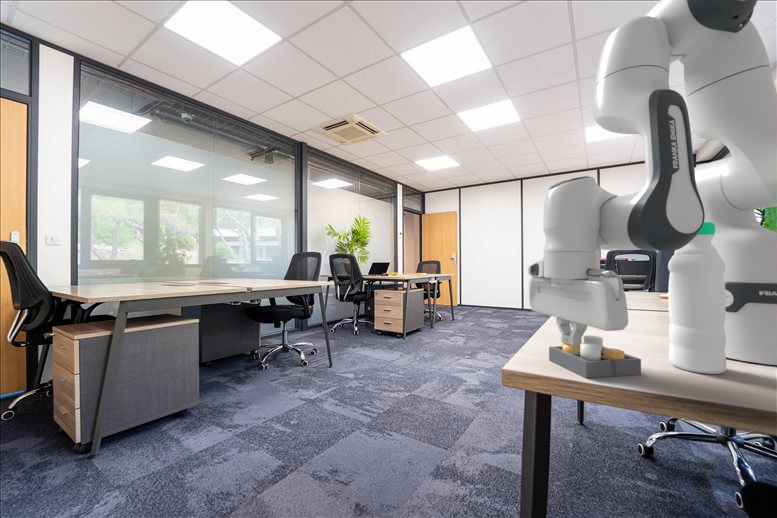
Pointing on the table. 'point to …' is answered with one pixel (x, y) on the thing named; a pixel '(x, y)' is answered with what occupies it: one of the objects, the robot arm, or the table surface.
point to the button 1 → (570, 348)
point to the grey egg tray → (595, 364)
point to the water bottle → (697, 306)
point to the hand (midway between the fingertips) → (571, 344)
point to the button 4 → (613, 353)
